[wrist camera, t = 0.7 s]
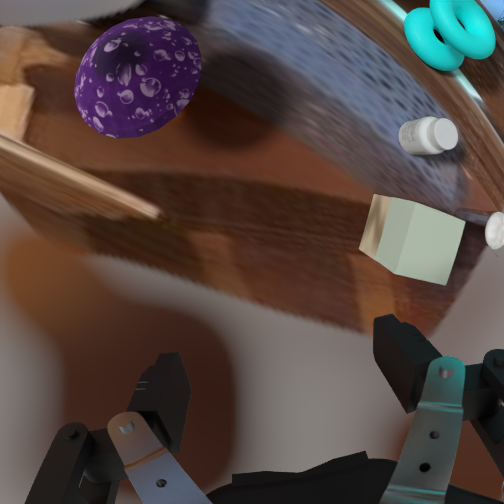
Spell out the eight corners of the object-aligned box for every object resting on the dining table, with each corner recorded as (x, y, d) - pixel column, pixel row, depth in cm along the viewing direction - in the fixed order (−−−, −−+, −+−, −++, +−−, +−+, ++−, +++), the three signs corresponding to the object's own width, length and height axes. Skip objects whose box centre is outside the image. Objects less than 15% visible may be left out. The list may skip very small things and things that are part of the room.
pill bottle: (431, 141, 33) (467, 138, 26) (411, 162, 34) (446, 162, 26) (411, 114, 32) (445, 106, 25) (391, 134, 33) (424, 128, 26)
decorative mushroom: (217, 135, 33) (199, 109, 18) (114, 155, 33) (42, 151, 18) (206, 39, 30) (186, -31, 15) (107, 62, 30) (44, 18, 15)
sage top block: (391, 196, 30) (415, 202, 25) (439, 213, 31) (465, 221, 26) (374, 259, 32) (394, 273, 27) (422, 271, 32) (445, 285, 28)
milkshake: (442, 229, 36) (488, 247, 27) (458, 196, 35) (506, 207, 26) (460, 245, 37) (505, 265, 27) (475, 214, 36) (522, 227, 26)
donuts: (432, -28, 18) (493, 7, 19) (399, 2, 28) (454, 28, 29) (442, 34, 21) (503, 69, 21) (401, 58, 30) (458, 82, 31)
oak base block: (373, 193, 35) (391, 197, 30) (418, 209, 36) (439, 214, 31) (358, 248, 37) (374, 259, 32) (403, 260, 37) (422, 271, 32)
